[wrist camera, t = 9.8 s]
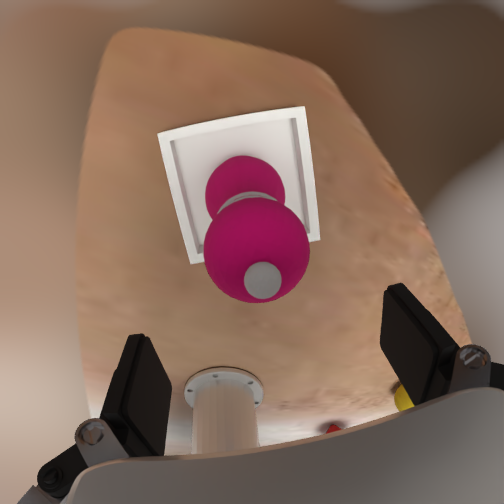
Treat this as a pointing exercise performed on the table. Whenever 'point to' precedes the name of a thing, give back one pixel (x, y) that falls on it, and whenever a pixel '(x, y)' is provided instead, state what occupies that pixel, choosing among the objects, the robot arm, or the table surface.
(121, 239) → the table surface
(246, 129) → the tray
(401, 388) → the lemon
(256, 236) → the pepper mill
